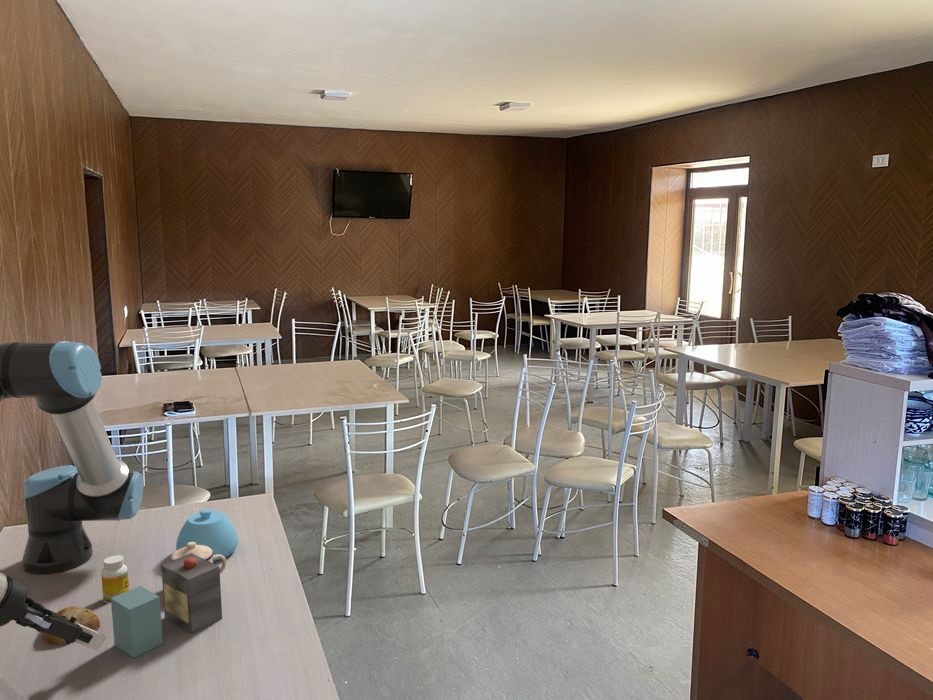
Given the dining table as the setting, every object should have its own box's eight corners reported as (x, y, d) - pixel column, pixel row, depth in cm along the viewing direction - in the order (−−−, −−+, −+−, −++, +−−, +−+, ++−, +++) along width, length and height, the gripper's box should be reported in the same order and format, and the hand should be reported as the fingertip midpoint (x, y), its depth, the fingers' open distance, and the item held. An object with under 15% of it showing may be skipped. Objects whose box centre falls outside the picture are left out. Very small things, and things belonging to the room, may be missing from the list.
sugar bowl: (246, 556, 179) (244, 513, 178) (184, 572, 171) (181, 527, 169) (229, 535, 192) (227, 495, 190) (170, 549, 183) (168, 507, 181)
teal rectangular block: (114, 645, 138) (110, 598, 137) (143, 631, 143) (140, 585, 142) (133, 658, 134) (129, 609, 133) (162, 643, 139) (159, 596, 137)
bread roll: (56, 671, 138) (62, 643, 135) (29, 636, 143) (35, 608, 140) (104, 646, 147) (111, 619, 144) (78, 613, 151) (84, 587, 148)
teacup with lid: (177, 604, 156) (174, 555, 154) (169, 587, 164) (166, 540, 162) (232, 590, 163) (229, 542, 161) (222, 574, 170) (219, 528, 168)
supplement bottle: (103, 596, 160) (100, 556, 158) (129, 590, 162) (126, 551, 160) (103, 607, 155) (100, 566, 153) (130, 601, 157) (127, 561, 156)
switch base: (90, 655, 137) (84, 587, 135) (192, 607, 155) (188, 546, 152) (122, 678, 130) (117, 607, 128) (225, 626, 148) (222, 562, 145)
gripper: (-42, 605, 118) (70, 649, 134) (-10, 632, 111) (104, 675, 127) (-9, 564, 122) (96, 612, 138) (24, 587, 114) (131, 635, 130)
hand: (100, 642), depth 132 cm, fingers closed
